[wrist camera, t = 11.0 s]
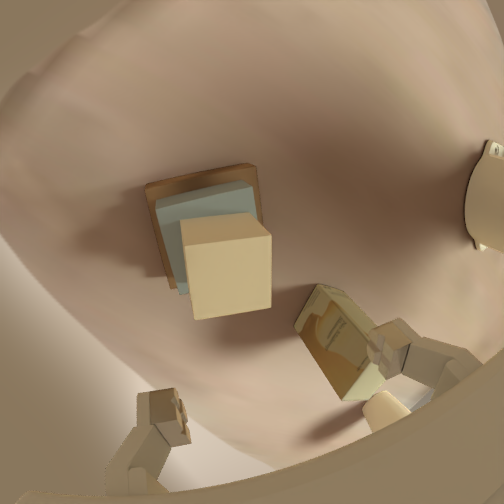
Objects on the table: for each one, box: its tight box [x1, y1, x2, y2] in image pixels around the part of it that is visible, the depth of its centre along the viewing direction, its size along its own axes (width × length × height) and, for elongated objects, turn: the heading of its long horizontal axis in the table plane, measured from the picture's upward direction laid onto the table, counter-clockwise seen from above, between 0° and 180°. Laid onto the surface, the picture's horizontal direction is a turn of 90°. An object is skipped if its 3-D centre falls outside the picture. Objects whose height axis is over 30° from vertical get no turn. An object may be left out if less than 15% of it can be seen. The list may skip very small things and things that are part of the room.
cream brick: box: [180, 212, 272, 320], centre depth 20 cm, size 5×5×5 cm
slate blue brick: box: [155, 180, 258, 295], centre depth 24 cm, size 7×7×3 cm
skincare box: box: [294, 284, 386, 401], centre depth 30 cm, size 6×4×12 cm
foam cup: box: [362, 391, 412, 433], centre depth 44 cm, size 10×9×13 cm
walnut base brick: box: [145, 163, 263, 289], centre depth 26 cm, size 9×9×3 cm
